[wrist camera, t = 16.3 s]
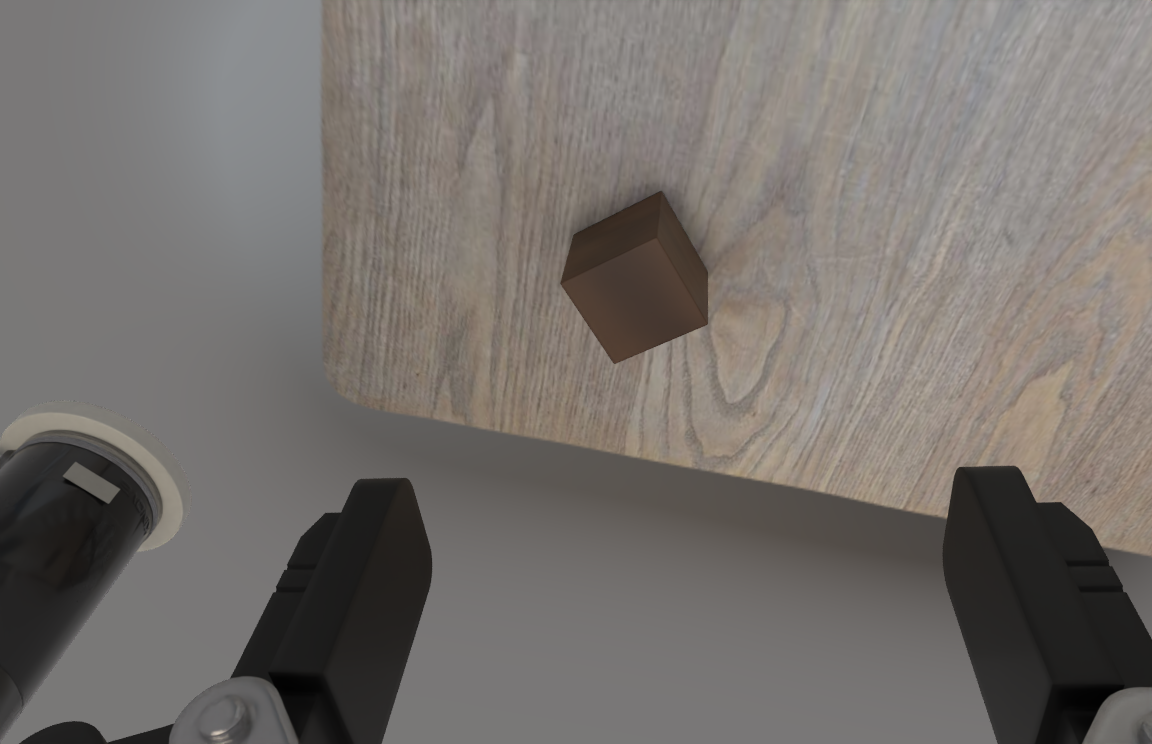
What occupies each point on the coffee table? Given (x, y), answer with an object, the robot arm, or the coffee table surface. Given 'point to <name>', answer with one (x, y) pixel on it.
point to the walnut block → (637, 279)
